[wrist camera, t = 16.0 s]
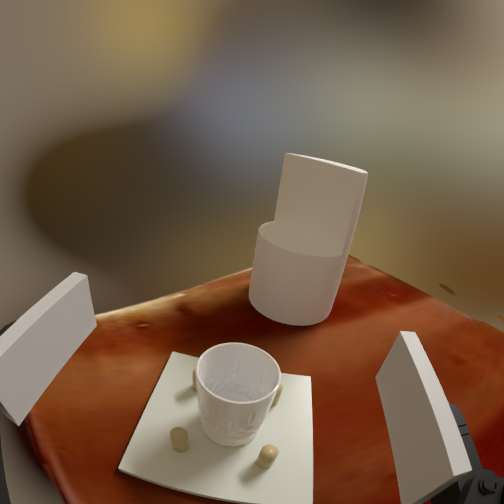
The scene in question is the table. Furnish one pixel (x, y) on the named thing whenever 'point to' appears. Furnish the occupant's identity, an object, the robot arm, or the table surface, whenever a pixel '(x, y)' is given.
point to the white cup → (235, 391)
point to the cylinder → (306, 240)
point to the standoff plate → (224, 457)
